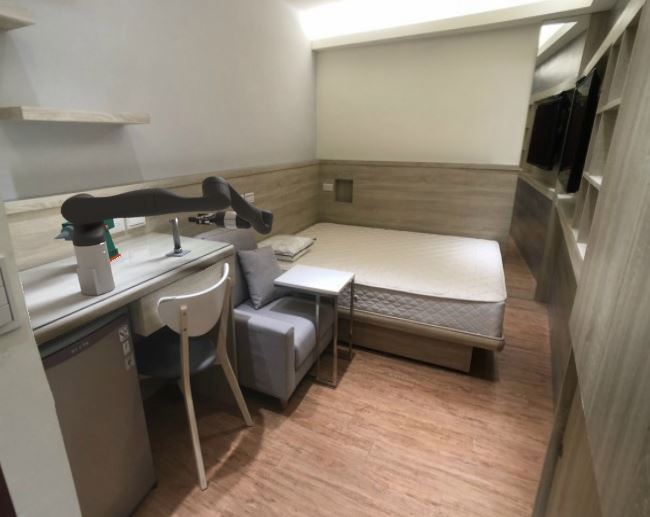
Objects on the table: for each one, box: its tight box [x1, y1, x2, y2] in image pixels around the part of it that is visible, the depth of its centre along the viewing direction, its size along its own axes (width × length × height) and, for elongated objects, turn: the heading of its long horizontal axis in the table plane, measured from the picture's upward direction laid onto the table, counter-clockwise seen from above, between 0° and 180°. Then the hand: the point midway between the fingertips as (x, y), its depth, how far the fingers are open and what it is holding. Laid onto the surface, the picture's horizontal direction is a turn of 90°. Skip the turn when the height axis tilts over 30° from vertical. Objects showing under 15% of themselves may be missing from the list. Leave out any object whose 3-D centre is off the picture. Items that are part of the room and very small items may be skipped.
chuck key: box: [168, 216, 183, 254], centre depth 159 cm, size 7×4×16 cm, turn 172°
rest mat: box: [164, 249, 192, 257], centre depth 161 cm, size 8×8×1 cm
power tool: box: [53, 219, 122, 263], centre depth 139 cm, size 32×7×20 cm, turn 0°
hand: (193, 217), depth 155 cm, fingers open, 8 cm apart
